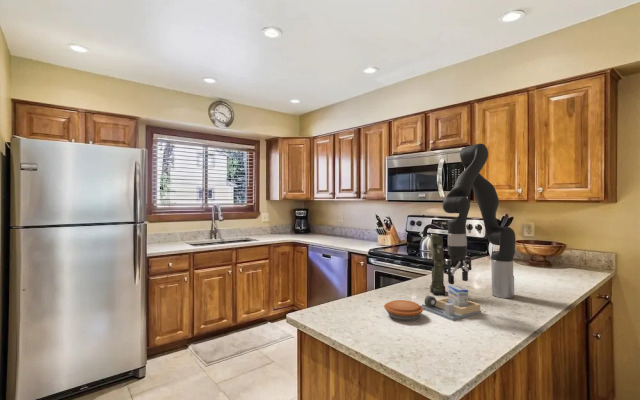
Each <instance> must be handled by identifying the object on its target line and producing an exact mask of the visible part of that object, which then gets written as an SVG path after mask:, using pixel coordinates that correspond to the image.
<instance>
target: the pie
mask: <svg viewBox="0 0 640 400" xmlns="http://www.w3.org/2000/svg"><path fill="white" fill-rule="evenodd" d="M383 307H384V309H385V311H386V313H388V315H389V317H391V319H394V320H397V321H403V322H406V321H407V322H409V321H410V322H411V321H415V320H417V319H418V318H419V317H420V315H421V314H422V313H423V312H424V309H423V307H422V306H421V305H420V304H419V303H417V302H415V301H412V300H406V299H405V300H404V299H396V300H391V301H388V302H387V303H384V305H383Z"/></svg>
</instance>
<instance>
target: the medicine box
mask: <svg viewBox="0 0 640 400" xmlns="http://www.w3.org/2000/svg"><path fill="white" fill-rule="evenodd" d="M447 287H448V288H447V290H448V293H447V295H448V296H447V297H448V303H452V304H454V305H455V306H458V307H461V308H462V307H466V306H468V301H469V290H468V289H466V288H464V287H461V286H459V285H458V284H457V285H455V284H453V285H452V284H449V285H448V286H447Z"/></svg>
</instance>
